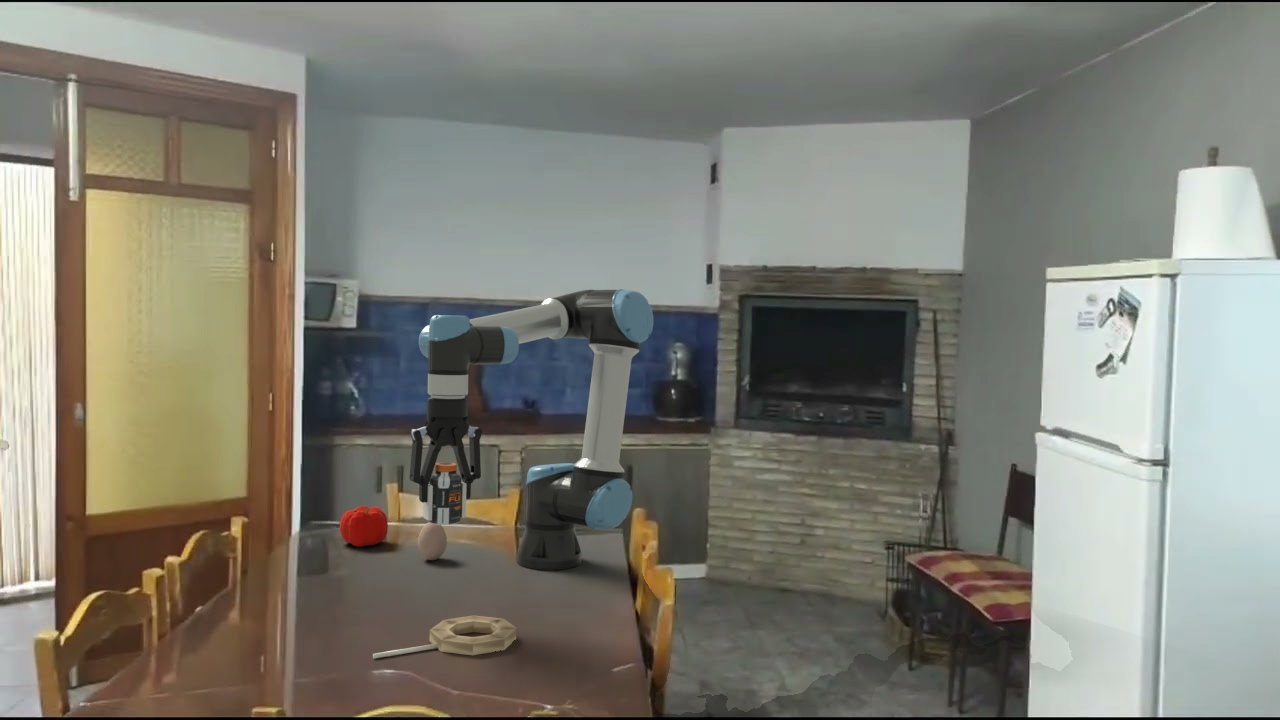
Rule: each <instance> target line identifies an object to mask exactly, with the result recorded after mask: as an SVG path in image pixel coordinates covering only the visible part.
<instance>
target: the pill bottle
mask: <svg viewBox="0 0 1280 720" xmlns="http://www.w3.org/2000/svg"><path fill="white" fill-rule="evenodd" d="M457 468H458V464H457V462H448V461H447V462H446V461H445V462H436V463H435V466H434V471H435V473H432V475H431V478H430V482H429V484H430V485H432V486H433V500H432V520H430V521H428V522H430V523H432V524H436V525H441V526H447V525H449V526H450V525H451V526H452V525H455V524H456V525H457V524H458V523H460V521H461V517H460V513H461V481H462V478H461V475H460V474H458V473H457V470H458V469H457Z"/></svg>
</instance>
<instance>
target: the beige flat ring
mask: <svg viewBox="0 0 1280 720" xmlns="http://www.w3.org/2000/svg"><path fill="white" fill-rule="evenodd" d="M517 629H518V628H517V627H516V626H514V625H513V624H512V623H510V622H508V621H507V620H506V619H505V618H502V617H501V618H500V617H492V616H491V617H490V616H483V615H475V614H474V615H468V616H462V617H461V616H460V617H454V618H448V619H443V620H441V621H440V622H439V623H437V624H436V625H435V626H433V627H432V628H430V629H429V642H430V643H431V644H438V648H437V649H438V650H439V651H440V652H441V653H450V654H459V655H467V656H478V655H482V654H489V653H494V652H495V651H496V652H500V650H501V651H505V650H507V648H508V647H510V645H512V644H513V643H512V642H513V641H514V640H515V641H516V640H517V632H518V631H517ZM469 633H477V634H478V633H480V634H485V635H480V636H467V635H466V636H465V634H469ZM462 634H464V635H462ZM515 641H514V642H515Z"/></svg>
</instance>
